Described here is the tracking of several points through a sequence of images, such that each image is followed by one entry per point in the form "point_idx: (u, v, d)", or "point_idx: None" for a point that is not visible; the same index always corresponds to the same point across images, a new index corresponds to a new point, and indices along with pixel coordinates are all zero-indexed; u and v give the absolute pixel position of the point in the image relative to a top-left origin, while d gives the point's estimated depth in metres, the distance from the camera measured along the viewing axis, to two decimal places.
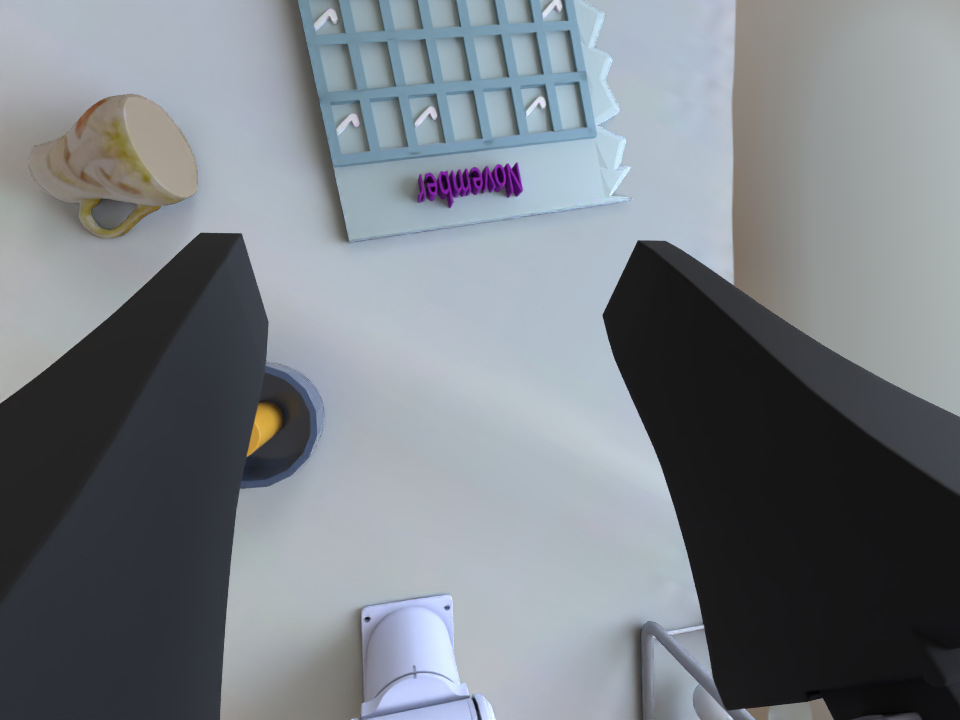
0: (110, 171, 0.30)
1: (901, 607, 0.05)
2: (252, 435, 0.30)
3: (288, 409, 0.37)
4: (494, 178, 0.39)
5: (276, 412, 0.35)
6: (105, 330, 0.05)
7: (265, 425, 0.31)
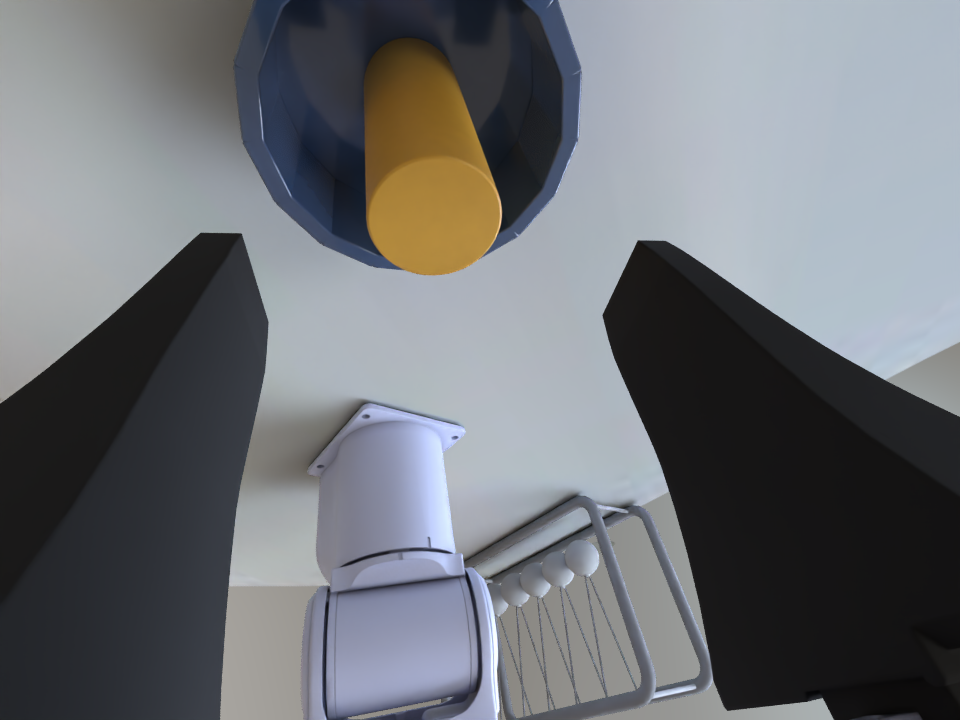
0: None
1: (901, 607, 0.05)
2: (474, 243, 0.11)
3: (469, 106, 0.15)
4: None
5: None
6: (105, 330, 0.05)
7: None
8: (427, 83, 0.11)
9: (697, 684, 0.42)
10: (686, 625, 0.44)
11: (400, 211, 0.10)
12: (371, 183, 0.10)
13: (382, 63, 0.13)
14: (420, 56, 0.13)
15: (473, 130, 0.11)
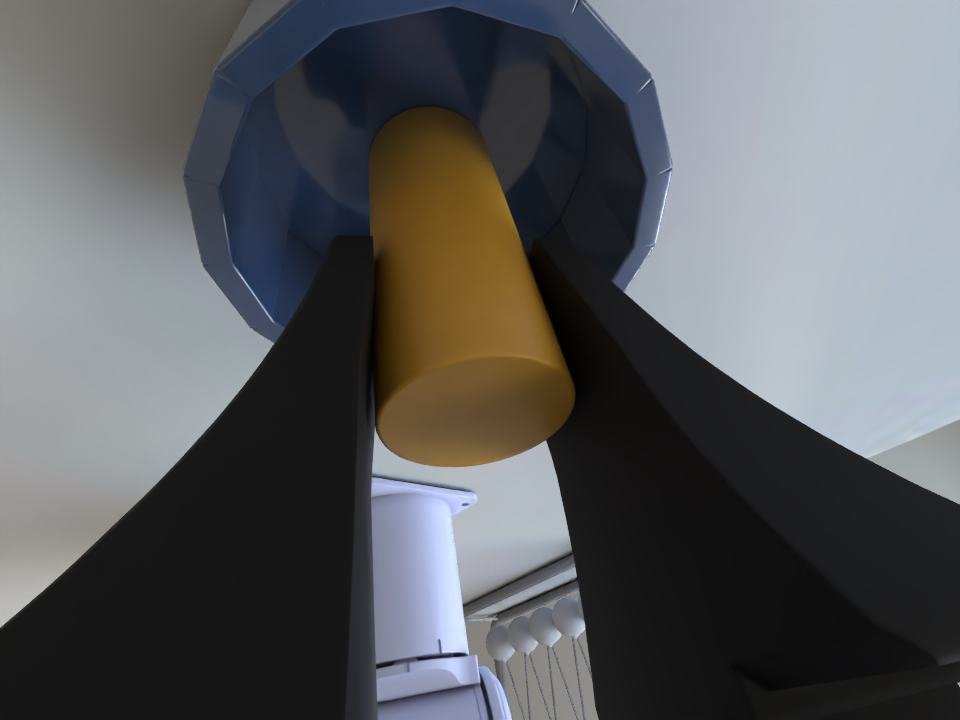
0: None
1: (725, 642, 0.04)
2: (530, 435, 0.07)
3: (504, 183, 0.12)
4: None
5: None
6: (301, 325, 0.05)
7: None
8: (460, 192, 0.08)
9: None
10: None
11: (426, 414, 0.06)
12: (383, 375, 0.06)
13: (394, 147, 0.09)
14: (446, 139, 0.09)
15: (526, 262, 0.08)
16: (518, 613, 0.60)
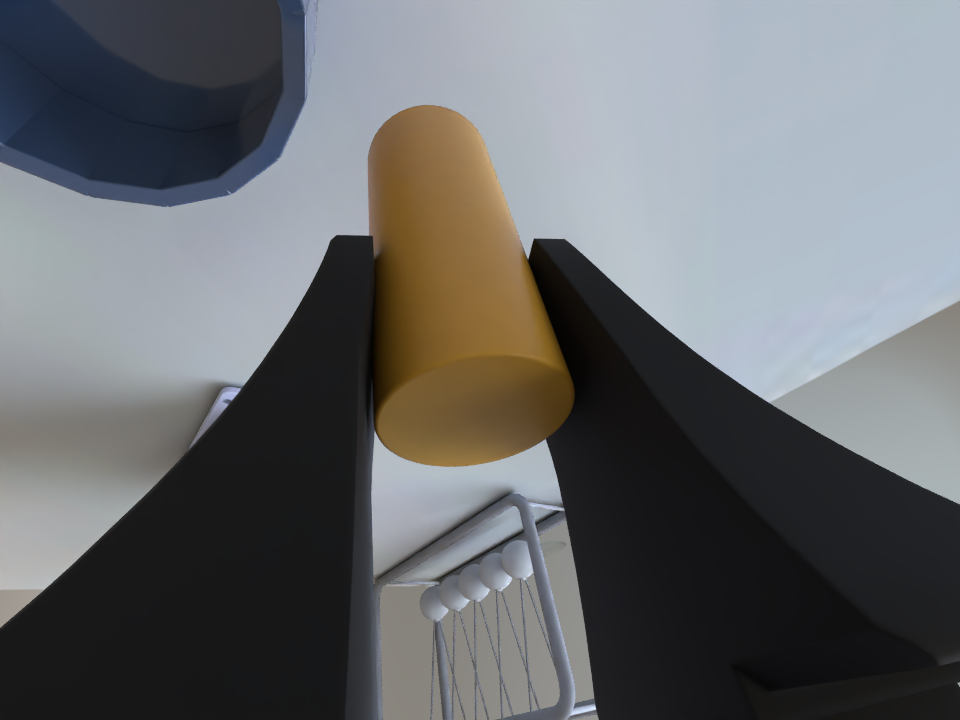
0: None
1: (725, 642, 0.04)
2: (529, 434, 0.07)
3: None
4: None
5: None
6: (300, 325, 0.05)
7: None
8: (459, 190, 0.08)
9: None
10: None
11: (424, 412, 0.06)
12: (382, 374, 0.06)
13: (393, 146, 0.09)
14: (445, 138, 0.09)
15: (525, 260, 0.08)
16: None
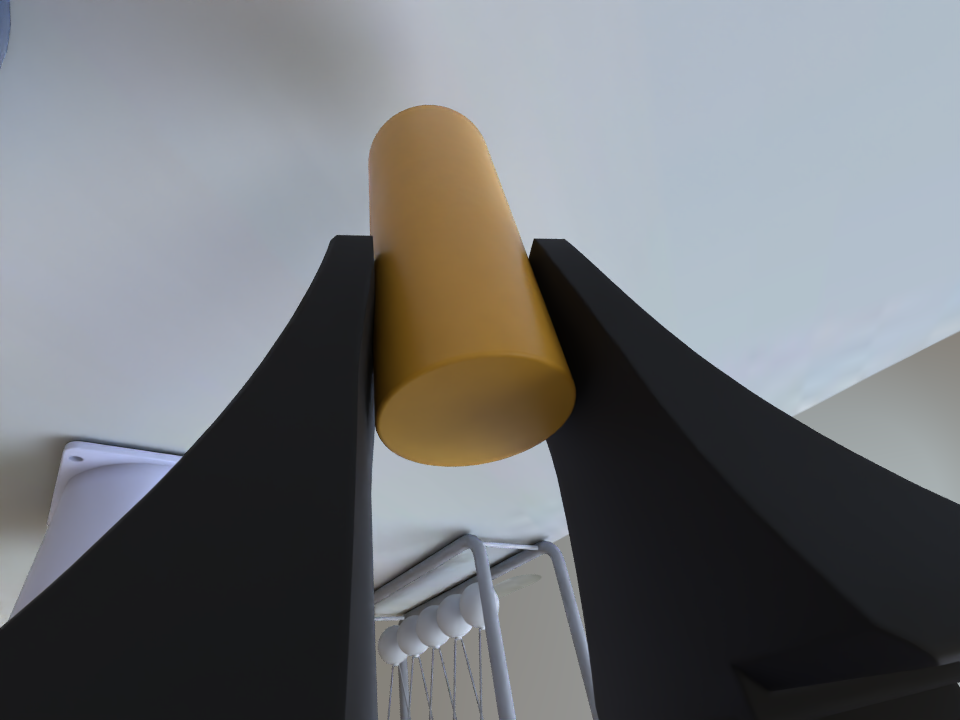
0: None
1: (725, 642, 0.04)
2: (530, 434, 0.07)
3: None
4: None
5: None
6: (300, 326, 0.05)
7: None
8: (460, 191, 0.08)
9: None
10: (588, 696, 0.36)
11: (427, 412, 0.06)
12: (383, 374, 0.06)
13: (394, 146, 0.09)
14: (446, 138, 0.09)
15: (526, 260, 0.08)
16: None
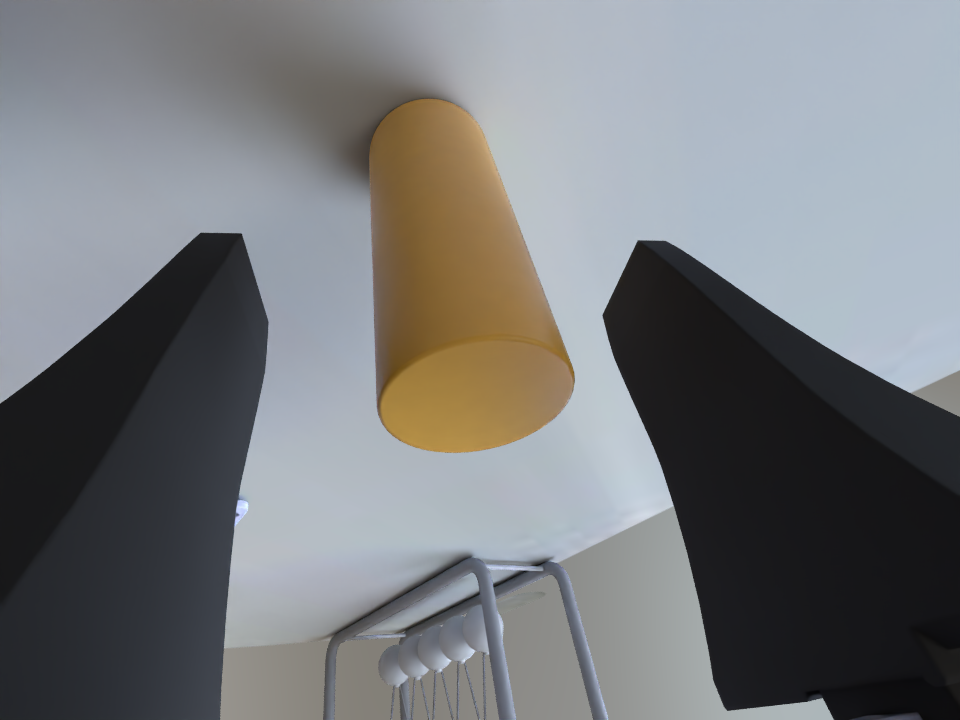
0: None
1: (901, 607, 0.05)
2: (530, 420, 0.07)
3: None
4: None
5: None
6: (105, 330, 0.05)
7: None
8: (461, 181, 0.08)
9: None
10: None
11: (428, 397, 0.06)
12: (385, 359, 0.06)
13: (395, 138, 0.10)
14: (446, 130, 0.09)
15: (526, 250, 0.08)
16: (424, 630, 0.54)
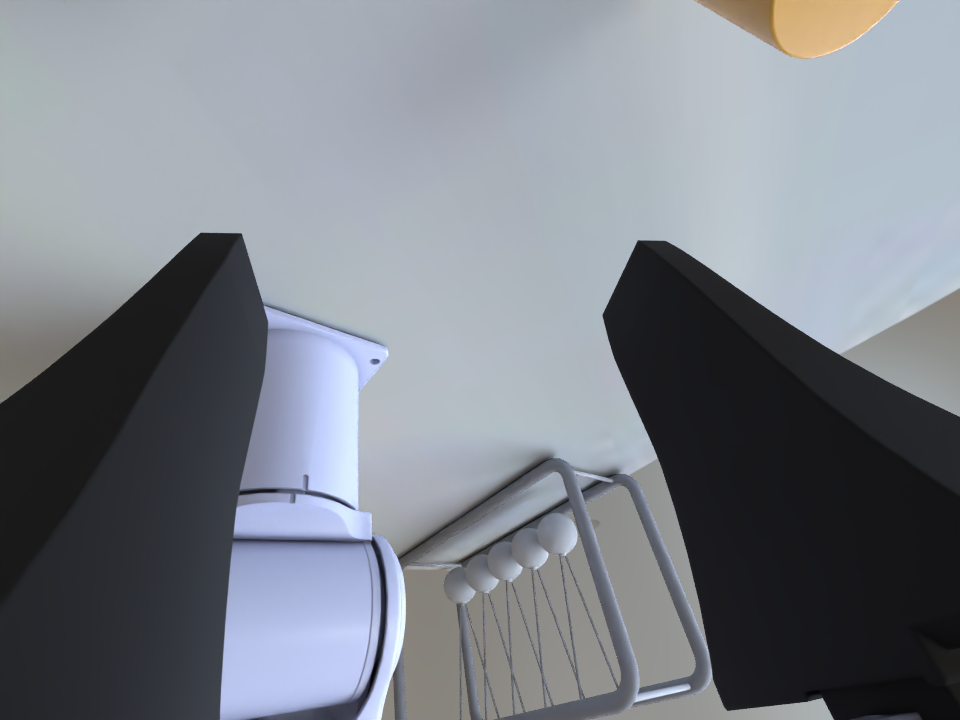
0: None
1: (901, 607, 0.05)
2: (875, 6, 0.09)
3: None
4: None
5: None
6: (105, 330, 0.05)
7: None
8: None
9: (692, 683, 0.34)
10: (679, 612, 0.36)
11: None
12: None
13: None
14: None
15: None
16: None
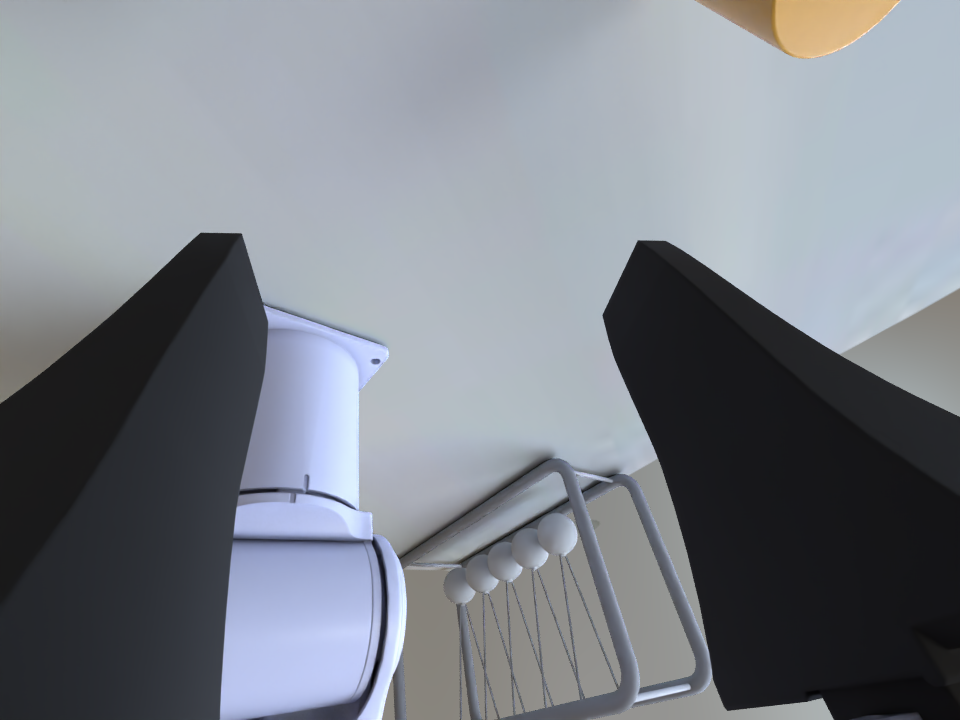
0: None
1: (901, 607, 0.05)
2: (876, 6, 0.09)
3: None
4: None
5: None
6: (105, 330, 0.05)
7: None
8: None
9: (692, 683, 0.34)
10: (679, 612, 0.36)
11: None
12: None
13: None
14: None
15: None
16: None
